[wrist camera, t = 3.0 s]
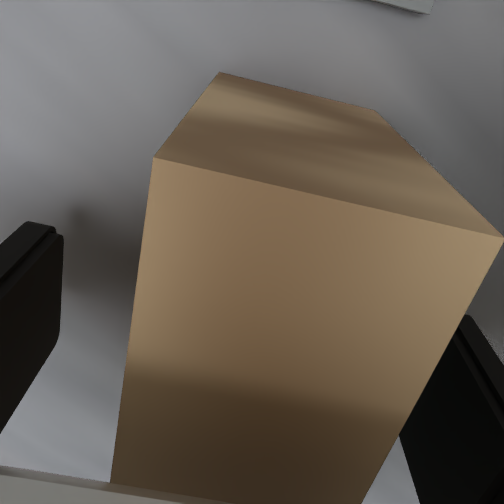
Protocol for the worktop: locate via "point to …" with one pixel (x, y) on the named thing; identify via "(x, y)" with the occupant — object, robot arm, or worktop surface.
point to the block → (288, 299)
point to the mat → (410, 5)
